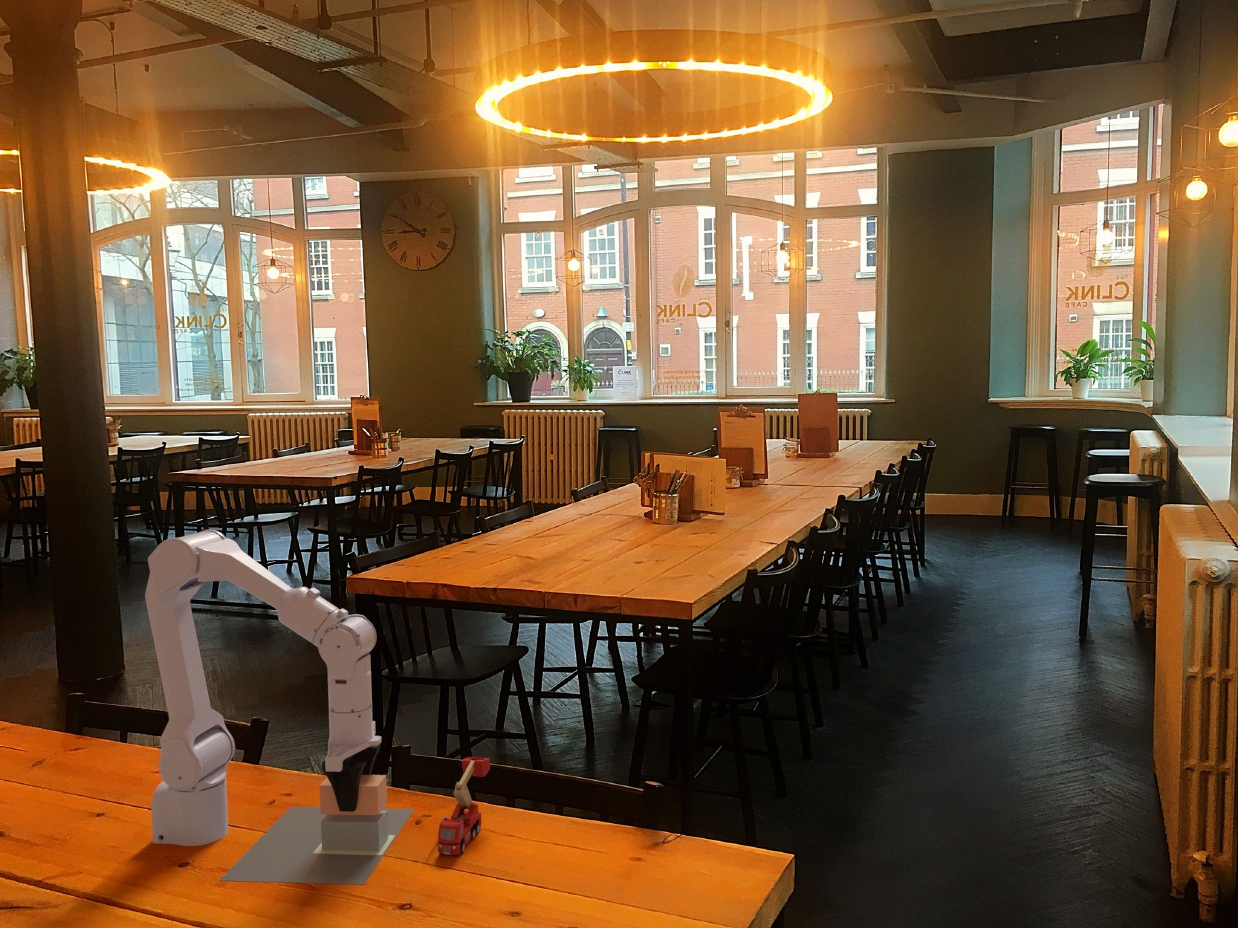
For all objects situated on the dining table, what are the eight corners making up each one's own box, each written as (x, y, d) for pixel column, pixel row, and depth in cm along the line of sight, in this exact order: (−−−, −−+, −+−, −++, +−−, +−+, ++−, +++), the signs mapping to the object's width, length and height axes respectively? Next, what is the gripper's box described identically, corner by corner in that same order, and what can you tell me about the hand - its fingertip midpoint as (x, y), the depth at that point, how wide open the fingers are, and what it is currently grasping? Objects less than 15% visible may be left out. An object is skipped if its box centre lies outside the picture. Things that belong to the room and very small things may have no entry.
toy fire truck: (435, 857, 137) (433, 788, 136) (470, 815, 151) (468, 752, 150) (458, 859, 136) (457, 790, 136) (491, 817, 150) (490, 754, 149)
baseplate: (219, 889, 129) (219, 880, 129) (291, 814, 152) (291, 806, 152) (364, 893, 127) (364, 883, 127) (414, 817, 150) (414, 808, 150)
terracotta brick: (320, 814, 136) (319, 785, 136) (330, 802, 140) (330, 774, 140) (378, 815, 136) (377, 786, 136) (387, 803, 140) (386, 775, 140)
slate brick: (321, 850, 137) (320, 821, 137) (332, 837, 141) (331, 809, 141) (379, 851, 136) (378, 822, 136) (388, 838, 140) (387, 810, 140)
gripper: (361, 724, 130) (364, 826, 131) (394, 691, 144) (397, 783, 145) (308, 723, 130) (311, 825, 131) (346, 690, 145) (349, 782, 146)
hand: (353, 803), depth 138 cm, fingers closed on terracotta brick, 4 cm apart
